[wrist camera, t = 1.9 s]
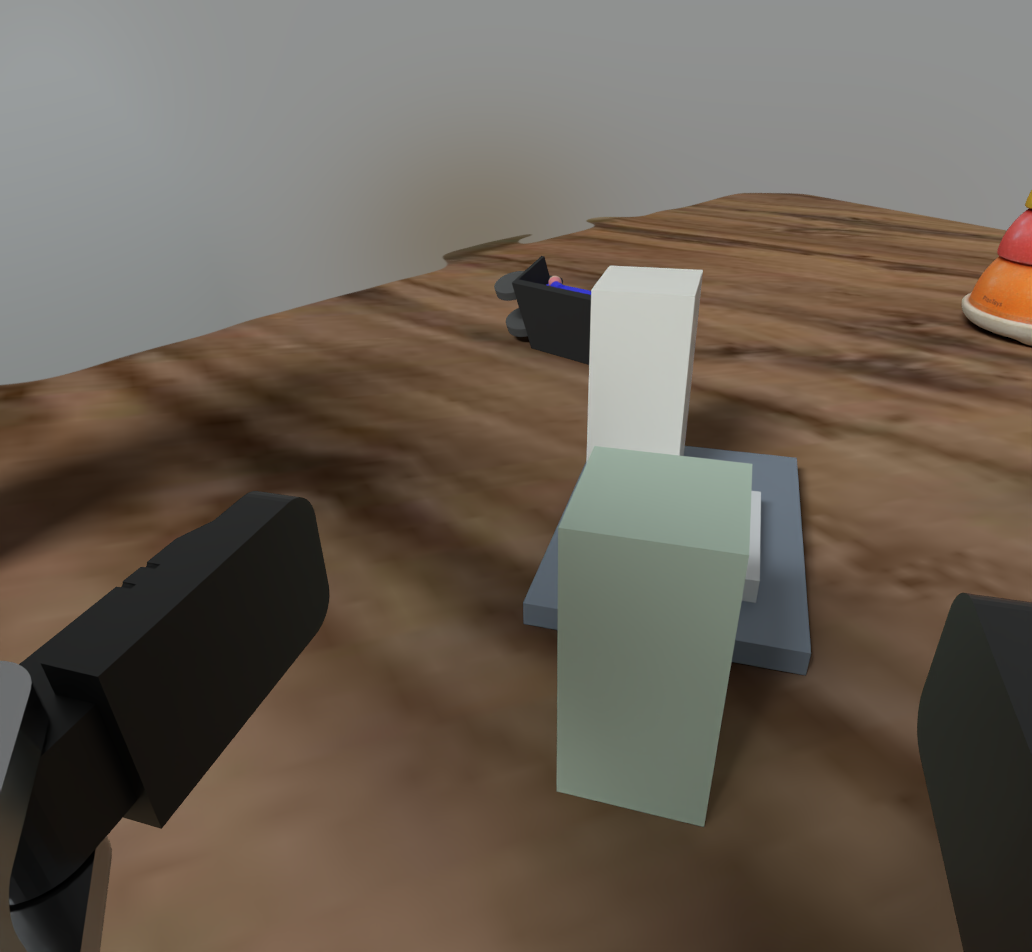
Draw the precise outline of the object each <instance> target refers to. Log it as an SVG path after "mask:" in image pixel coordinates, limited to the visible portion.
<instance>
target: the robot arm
mask: <svg viewBox="0 0 1032 952" xmlns="http://www.w3.org/2000/svg"><path fill="white" fill-rule="evenodd" d="M328 604H329V584H328V579H327V574H326V569H325V564H324V559H323V553H322V548H321V543H320V538H319V533H318V527H317V522H316V517H315V513H314V509H313V507H312V505H311V504H310V502H309V501H308V500H307V499H305V498H301V497H294V496H287V495H280V494H273V493H266V492H259V491H253V492H250V493H247V494H246V495H244V496H243V497H242V498H241V499H239V500H238V501H237V502H236V503H234V504H233V505H232V506H231V507H230V508H228V509H227V510H226V511H225V512H224V513H222V514H221V515H220V516H219V517H217V518H216V519H215V520H214V521H212V522H210V523H208V524H206V525H204V526H201V527H199V528H197V529H195V530H193V531H191V532H189V533H187V534H185V535H183V536H181V537H179V538H177V539H175V540H174V541H173V542H171V543H170V544H169V545H168V546H166V547H165V548H164V549H163V550H161V551H160V552H159V553H158V554H156V555H155V556H154V557H153V558H151V559H150V560H149V561H148V562H147V566H146V567H140V568H139V569H138V570H136V571H135V572H134V573H133V574H131V575H130V576H129V577H128V578H126V579H125V580H124V581H123V585H122V587H115V588H114V589H113V590H111V591H110V592H109V593H108V594H107V595H105V596H104V597H103V598H102V599H100V600H99V601H98V602H97V603H95V604H94V605H93V606H92V607H90V608H89V609H88V610H87V611H85V612H84V613H83V614H82V615H80V616H79V617H78V618H77V619H75V620H74V621H73V622H72V623H70V624H69V625H68V626H67V627H65V628H64V629H63V630H62V631H60V632H59V633H58V634H57V635H55V636H54V637H53V638H52V639H50V640H49V641H48V642H47V643H45V644H44V645H43V646H42V647H40V648H39V649H38V650H37V651H35V652H34V653H33V654H32V655H30V656H29V657H28V658H27V659H25V660H24V661H23V662H21V663H20V664H19V665H18V664H16V663H12V662H7V661H0V952H100V947H101V939H102V931H103V923H104V915H105V907H106V899H107V891H108V883H109V875H110V867H111V859H112V848H111V844H110V841H109V839H108V837H107V835H108V834H109V833H110V831H111V830H112V829H113V828H114V827H115V826H116V824H117V823H118V822H119V821H120V820H121V819H122V817H124V818H127V819H130V820H134V821H137V822H141V823H144V824H147V825H151V826H154V827H157V828H161V829H162V828H163V826H164V825H165V824H166V822H167V821H168V820H169V819H170V817H171V816H172V815H173V814H174V812H175V811H176V810H177V809H178V807H179V806H180V805H181V804H182V802H183V801H184V800H185V799H186V797H187V796H188V795H189V793H190V792H191V791H192V790H193V788H194V787H195V786H196V785H197V783H198V782H199V781H200V780H201V778H202V777H203V776H204V775H205V773H206V772H207V771H208V770H209V768H210V767H211V766H212V764H213V763H214V762H215V761H216V759H217V758H218V757H219V756H220V754H221V753H222V752H223V751H224V749H225V748H226V747H227V746H228V744H229V743H230V742H231V741H232V739H233V738H234V737H235V735H236V734H237V733H238V732H239V730H240V729H241V728H242V727H243V725H244V724H245V723H246V722H247V720H248V719H249V718H250V717H251V715H252V714H253V713H254V712H255V710H256V709H257V708H258V706H259V705H260V704H261V703H262V701H263V700H264V699H265V698H266V696H267V695H268V694H269V693H270V691H271V690H272V689H273V688H274V686H275V685H276V684H277V682H278V681H279V680H280V679H281V677H282V676H283V675H284V674H285V672H286V671H287V670H288V669H289V667H290V666H291V665H292V664H293V662H294V661H295V660H296V659H297V657H298V656H299V655H300V653H301V652H302V651H303V650H304V648H305V647H306V646H307V645H308V643H309V642H310V641H311V640H312V638H313V637H314V636H315V635H316V633H317V632H318V630H319V629H320V627H321V625H322V623H323V621H324V619H325V616H326V613H327V609H328ZM917 735H918V747H919V753H920V757H921V762H922V766H923V771H924V775H925V780H926V784H927V789H928V793H929V798H930V802H931V807H932V811H933V816H934V820H935V825H936V829H937V834H938V838H939V843H940V847H941V852H942V856H943V861H944V865H945V870H946V874H947V879H948V883H949V888H950V892H951V897H952V901H953V906H954V910H955V915H956V919H957V924H958V928H959V933H960V937H961V941H962V946H963V950H964V952H1032V602H1025V601H1018V600H1010V599H1003V598H996V597H989V596H982V595H975V594H968V593H961V594H959V595H958V596H957V597H956V598H955V600H954V601H953V603H952V605H951V608H950V611H949V614H948V617H947V620H946V623H945V626H944V629H943V632H942V635H941V638H940V641H939V644H938V646H937V649H936V652H935V655H934V658H933V661H932V664H931V667H930V670H929V673H928V676H927V679H926V682H925V685H924V688H923V691H922V695H921V699H920V704H919V710H918V723H917Z"/></svg>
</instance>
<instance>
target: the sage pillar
mask: <svg viewBox="0 0 1032 952" xmlns="http://www.w3.org/2000/svg"><path fill="white" fill-rule="evenodd" d="M751 490H752V464H749V463H740V462H731V461H723V460H714V459H705V458H696V457H687V456H678V455H670V454H661V453H652V452H643V451H634V450H625V449H616V448H608V447H599V446H594V448H593V450H592V453H591V455H590V457H589V459H588V462H587V464H586V466H585V468H584V471H583V473H582V475H581V477H580V480H579V482H578V484H577V486H576V489H575V491H574V493H573V495H572V498H571V500H570V502H569V504H568V507H567V509H566V511H565V513H564V516H563V518H562V520H561V522H560V525H559V527H558V645H557V791H558V792H562V793H566V794H570V795H574V796H578V797H582V798H586V799H590V800H595V801H599V802H603V803H607V804H611V805H615V806H619V807H623V808H628V809H632V810H636V811H640V812H644V813H648V814H652V815H656V816H660V817H665V818H669V819H673V820H677V821H681V822H685V823H689V824H693V825H698V826H702V827H704V824H705V818H706V812H707V806H708V800H709V794H710V788H711V782H712V776H713V770H714V764H715V758H716V752H717V746H718V740H719V734H720V728H721V722H722V716H723V710H724V704H725V698H726V692H727V686H728V680H729V674H730V668H731V662H732V656H733V650H734V644H735V638H736V632H737V626H738V620H739V614H740V608H741V602H742V596H743V590H744V584H745V578H746V571H747V565H748V559H749V546H750V518H751Z"/></svg>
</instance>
